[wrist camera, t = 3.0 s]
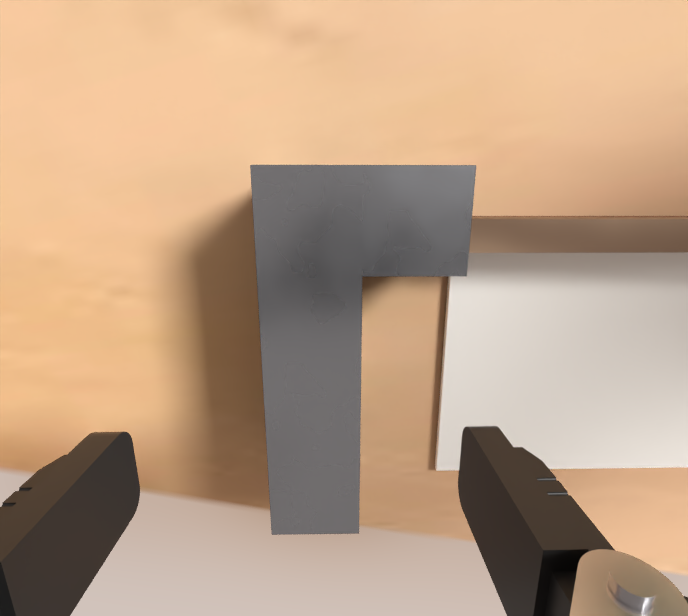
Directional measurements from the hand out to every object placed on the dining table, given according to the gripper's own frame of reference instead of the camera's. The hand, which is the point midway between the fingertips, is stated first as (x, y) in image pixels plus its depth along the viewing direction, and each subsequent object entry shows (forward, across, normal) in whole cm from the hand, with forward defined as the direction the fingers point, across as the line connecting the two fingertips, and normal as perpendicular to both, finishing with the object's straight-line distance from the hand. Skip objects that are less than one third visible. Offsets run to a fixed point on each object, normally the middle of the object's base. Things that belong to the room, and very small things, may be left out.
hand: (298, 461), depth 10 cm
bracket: (+12, -2, +1) cm, 13 cm away
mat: (+12, -18, +3) cm, 22 cm away
